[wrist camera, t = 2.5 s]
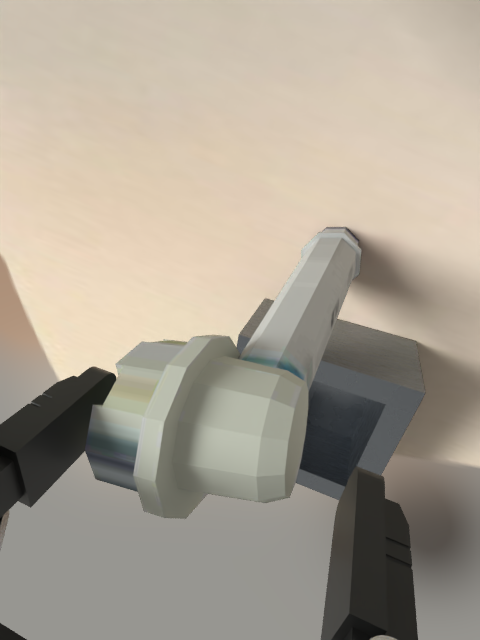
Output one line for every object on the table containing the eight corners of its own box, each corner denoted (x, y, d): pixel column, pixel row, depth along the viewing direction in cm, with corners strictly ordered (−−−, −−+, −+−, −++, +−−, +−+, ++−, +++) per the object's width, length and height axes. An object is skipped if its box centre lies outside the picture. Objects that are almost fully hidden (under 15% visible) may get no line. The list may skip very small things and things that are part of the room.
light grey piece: (359, 279, 30) (314, 610, 9) (283, 276, 32) (103, 533, 11) (364, 216, 27) (319, 462, 6) (282, 218, 30) (51, 403, 9)
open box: (264, 298, 34) (238, 334, 27) (415, 341, 30) (425, 393, 24) (244, 403, 41) (219, 452, 34) (365, 447, 37) (362, 509, 31)
